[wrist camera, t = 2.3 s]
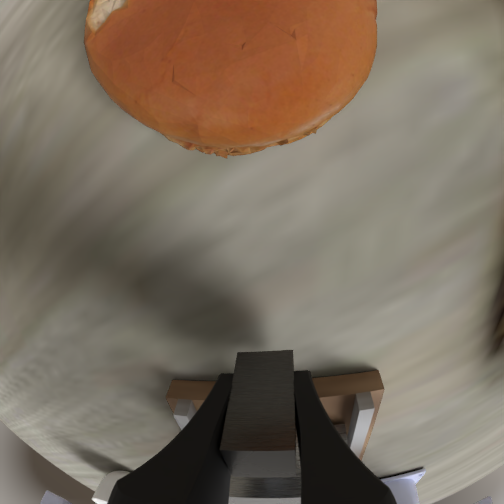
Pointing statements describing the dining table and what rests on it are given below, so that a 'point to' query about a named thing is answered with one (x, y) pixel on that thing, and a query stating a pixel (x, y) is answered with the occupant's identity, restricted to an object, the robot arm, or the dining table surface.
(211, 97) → the burger
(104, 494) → the teacup
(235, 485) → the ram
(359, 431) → the bench
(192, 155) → the dining table surface
